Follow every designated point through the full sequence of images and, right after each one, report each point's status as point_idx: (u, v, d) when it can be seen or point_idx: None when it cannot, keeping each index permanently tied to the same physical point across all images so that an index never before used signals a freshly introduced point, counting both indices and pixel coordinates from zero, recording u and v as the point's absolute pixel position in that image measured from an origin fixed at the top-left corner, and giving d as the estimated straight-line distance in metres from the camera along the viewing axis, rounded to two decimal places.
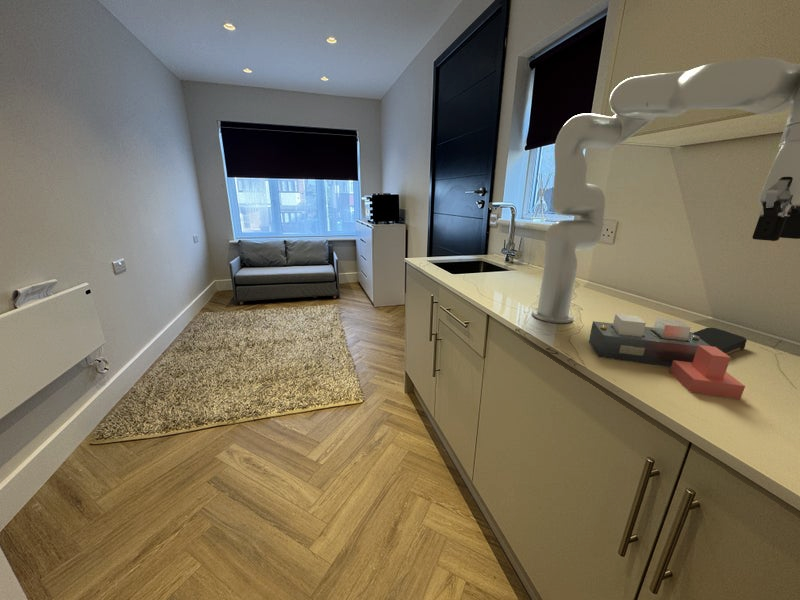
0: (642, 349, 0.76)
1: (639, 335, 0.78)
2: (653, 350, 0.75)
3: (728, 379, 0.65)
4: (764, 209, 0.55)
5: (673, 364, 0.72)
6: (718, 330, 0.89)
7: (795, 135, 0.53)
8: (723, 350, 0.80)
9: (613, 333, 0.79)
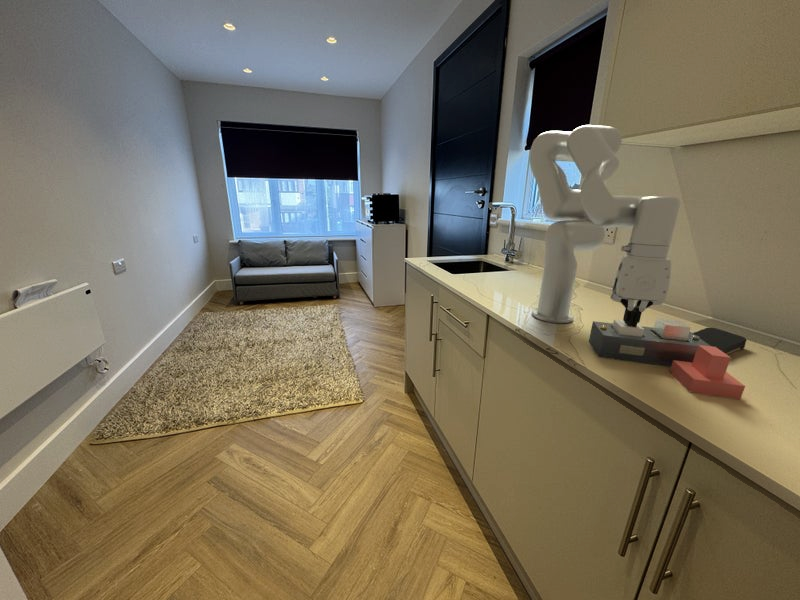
0: (642, 349, 0.76)
1: None
2: (653, 350, 0.75)
3: (728, 379, 0.65)
4: (648, 306, 0.77)
5: (673, 364, 0.72)
6: (718, 330, 0.89)
7: (667, 253, 0.72)
8: (724, 350, 0.79)
9: (613, 333, 0.79)
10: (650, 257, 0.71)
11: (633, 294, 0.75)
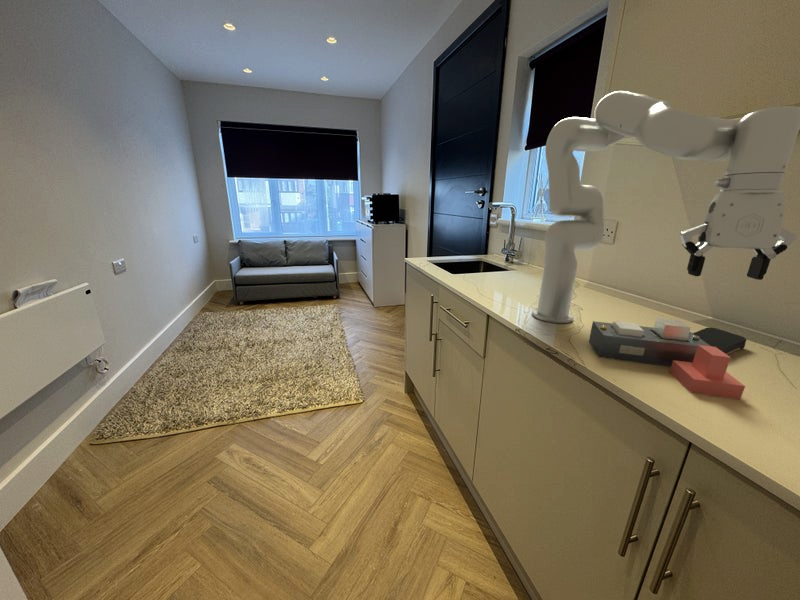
0: (642, 349, 0.76)
1: None
2: (653, 350, 0.75)
3: (728, 379, 0.65)
4: (780, 252, 0.59)
5: (673, 364, 0.72)
6: (717, 330, 0.89)
7: None
8: (724, 350, 0.79)
9: (613, 333, 0.79)
10: (759, 189, 0.55)
11: (731, 240, 0.59)
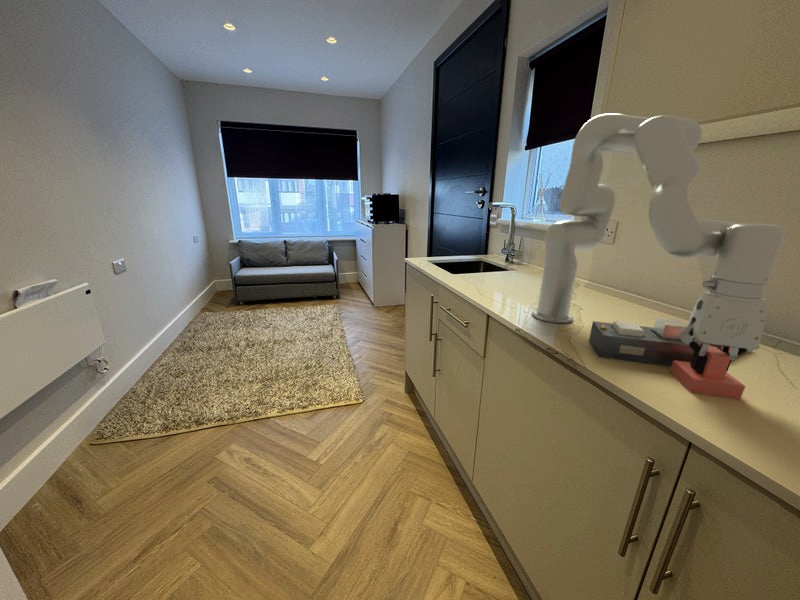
0: (642, 349, 0.76)
1: None
2: (653, 350, 0.75)
3: (728, 379, 0.65)
4: (740, 354, 0.64)
5: (673, 364, 0.72)
6: None
7: None
8: None
9: (613, 333, 0.79)
10: (743, 297, 0.59)
11: (716, 339, 0.63)
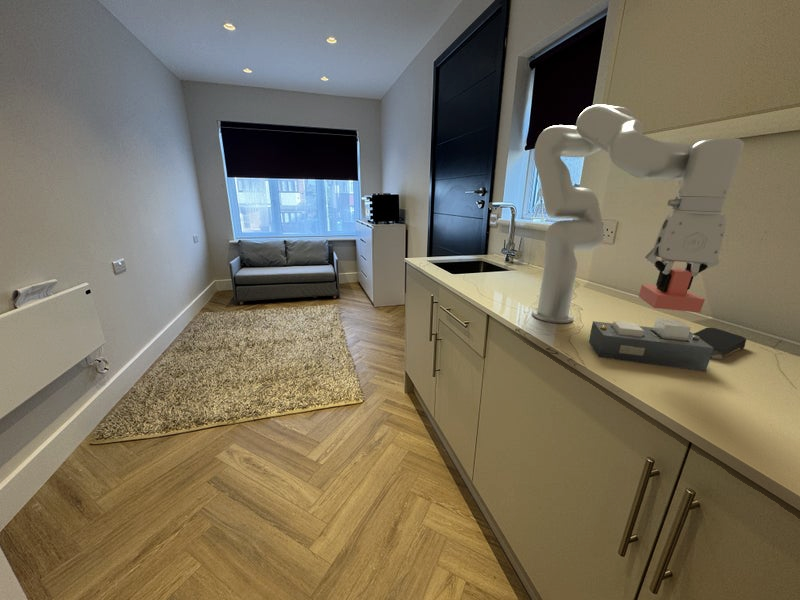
0: (642, 349, 0.76)
1: None
2: (653, 350, 0.75)
3: (690, 295, 0.68)
4: (701, 270, 0.68)
5: (641, 288, 0.76)
6: (717, 330, 0.89)
7: (722, 207, 0.63)
8: (726, 351, 0.79)
9: (613, 333, 0.79)
10: (704, 211, 0.62)
11: (679, 255, 0.66)
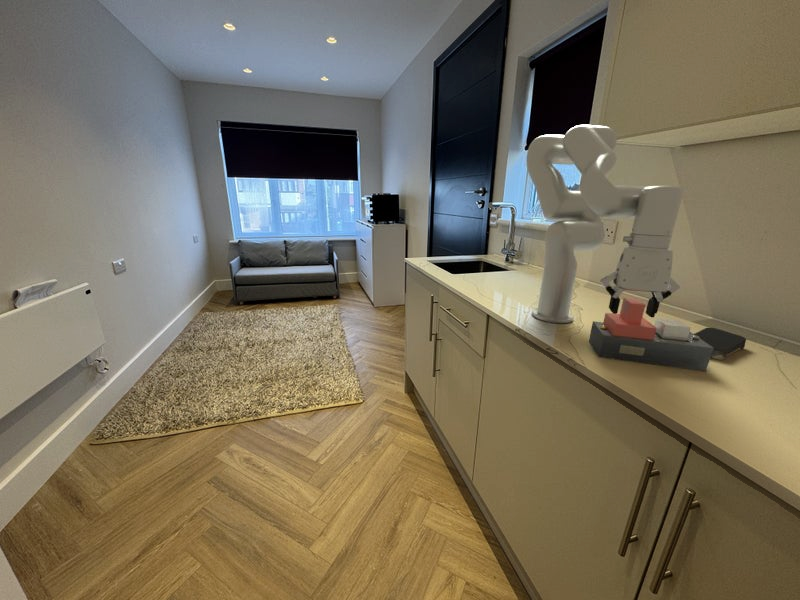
0: (642, 349, 0.76)
1: None
2: (653, 350, 0.75)
3: (645, 324, 0.77)
4: None
5: (605, 316, 0.84)
6: (717, 330, 0.89)
7: (669, 243, 0.72)
8: (727, 351, 0.79)
9: None
10: (652, 247, 0.71)
11: (634, 285, 0.75)
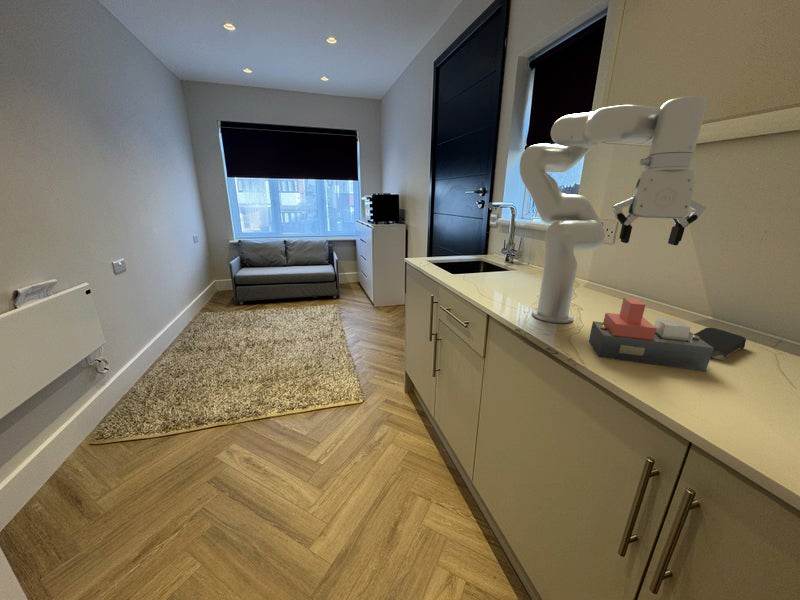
0: (642, 349, 0.76)
1: None
2: (653, 350, 0.75)
3: (645, 324, 0.77)
4: (692, 221, 0.70)
5: (605, 316, 0.84)
6: (717, 330, 0.89)
7: (690, 163, 0.67)
8: (728, 351, 0.79)
9: None
10: (672, 166, 0.66)
11: (651, 211, 0.70)
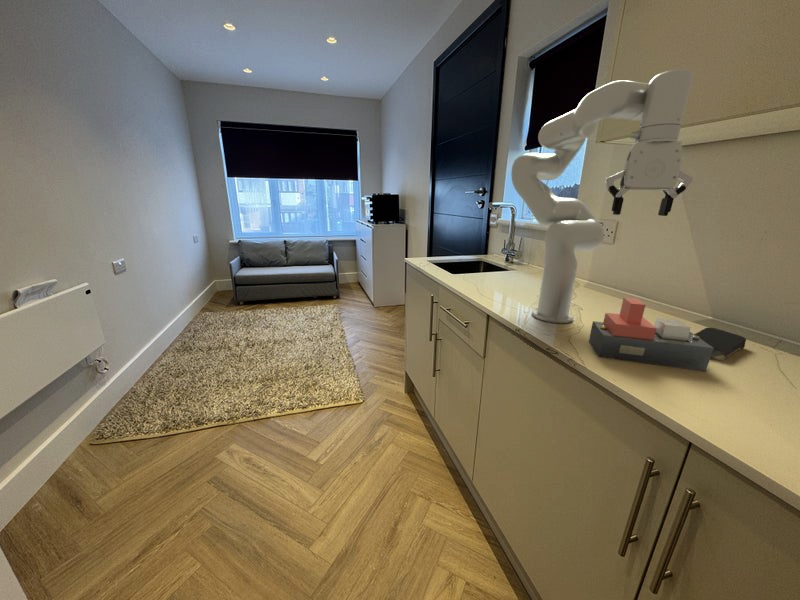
0: (642, 349, 0.76)
1: None
2: (653, 350, 0.75)
3: (645, 324, 0.77)
4: (681, 192, 0.73)
5: (605, 316, 0.84)
6: (717, 330, 0.89)
7: (678, 135, 0.70)
8: (728, 351, 0.79)
9: None
10: (661, 138, 0.69)
11: (642, 182, 0.73)
